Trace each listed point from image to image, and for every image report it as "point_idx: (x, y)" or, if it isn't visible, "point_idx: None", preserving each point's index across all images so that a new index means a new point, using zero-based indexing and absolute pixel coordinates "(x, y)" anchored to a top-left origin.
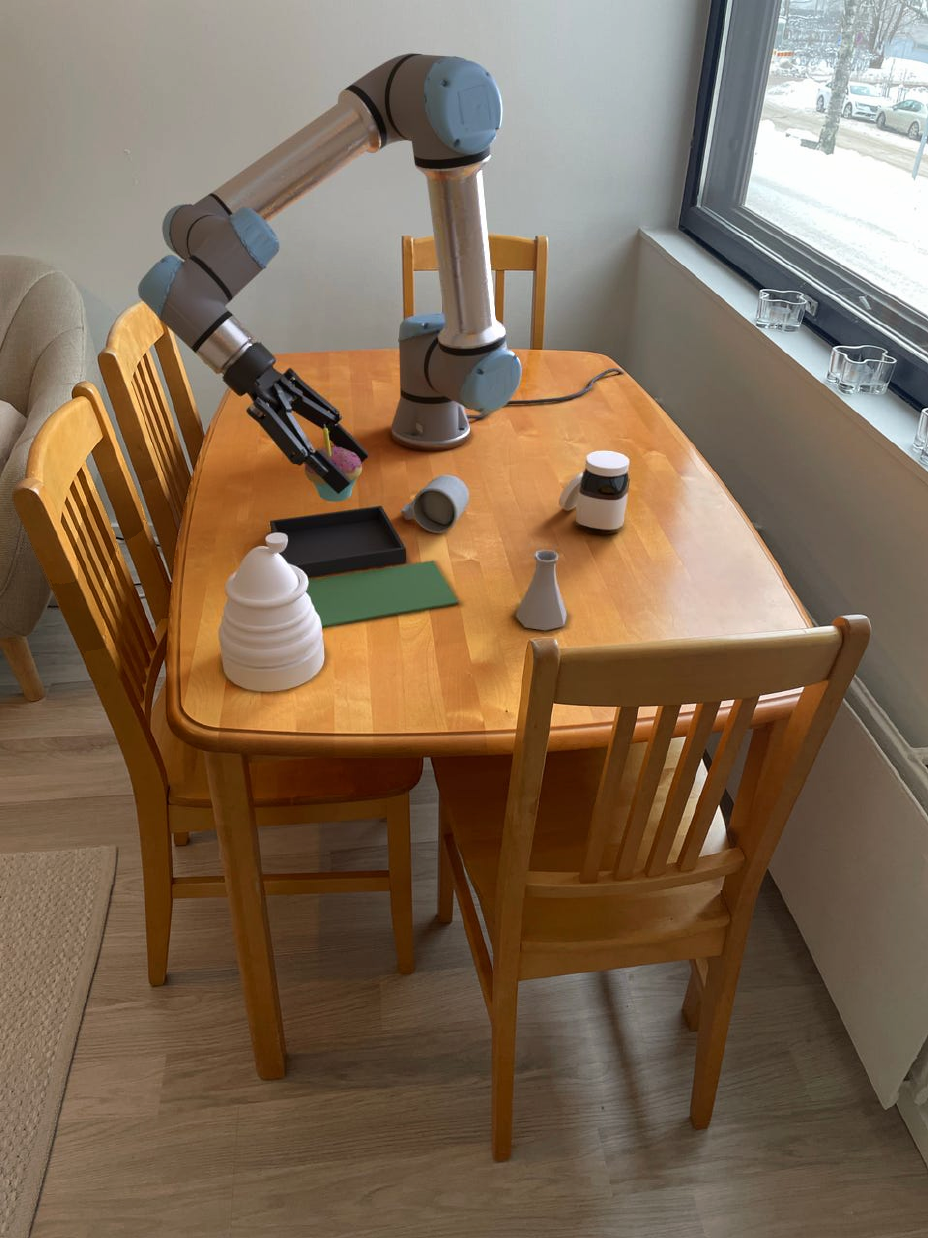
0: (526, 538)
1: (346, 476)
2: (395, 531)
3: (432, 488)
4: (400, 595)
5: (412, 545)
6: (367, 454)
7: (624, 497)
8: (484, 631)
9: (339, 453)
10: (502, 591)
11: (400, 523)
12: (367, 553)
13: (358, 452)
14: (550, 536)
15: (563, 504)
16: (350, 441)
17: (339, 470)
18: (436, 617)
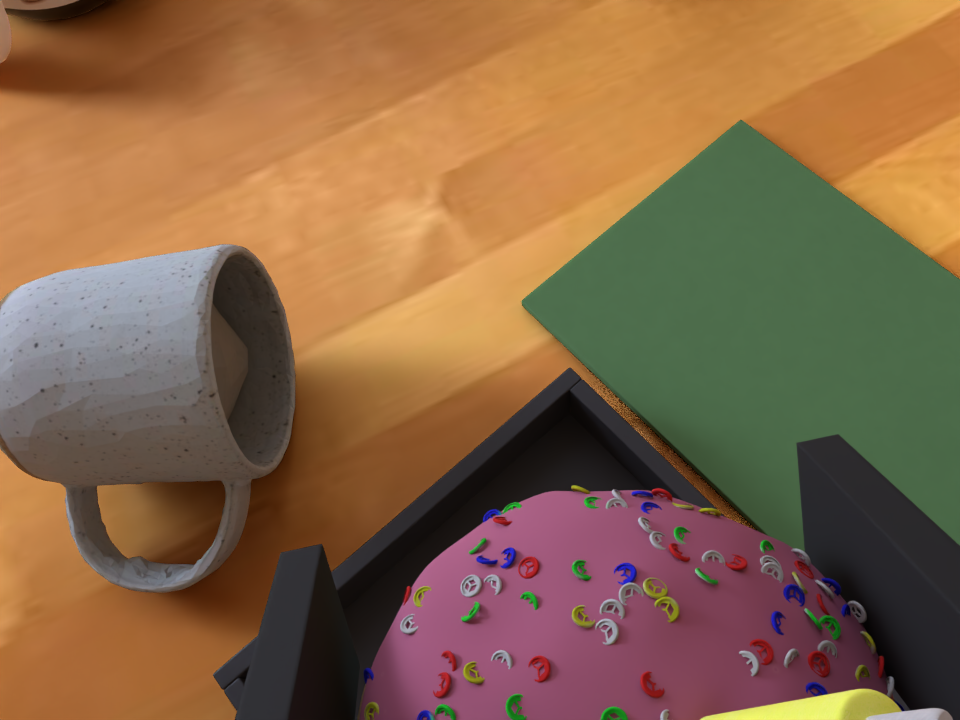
0: (224, 109)
1: (828, 469)
2: (446, 478)
3: (201, 320)
4: (821, 295)
5: (425, 436)
6: (307, 556)
7: None
8: (834, 12)
9: (625, 651)
10: (591, 51)
11: (255, 574)
12: (695, 500)
13: (326, 627)
14: (187, 56)
15: (8, 34)
16: (301, 700)
17: (877, 507)
18: (853, 150)
